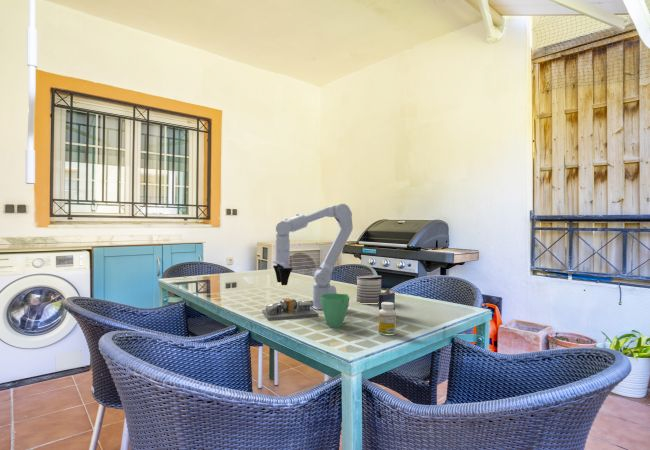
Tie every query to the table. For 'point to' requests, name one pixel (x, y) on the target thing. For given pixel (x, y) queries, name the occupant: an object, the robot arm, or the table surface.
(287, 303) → the coupler
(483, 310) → the table surface
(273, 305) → the shaft
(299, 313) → the base board
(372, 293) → the can
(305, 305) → the shaft
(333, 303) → the green cup
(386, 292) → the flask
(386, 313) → the supplement bottle
